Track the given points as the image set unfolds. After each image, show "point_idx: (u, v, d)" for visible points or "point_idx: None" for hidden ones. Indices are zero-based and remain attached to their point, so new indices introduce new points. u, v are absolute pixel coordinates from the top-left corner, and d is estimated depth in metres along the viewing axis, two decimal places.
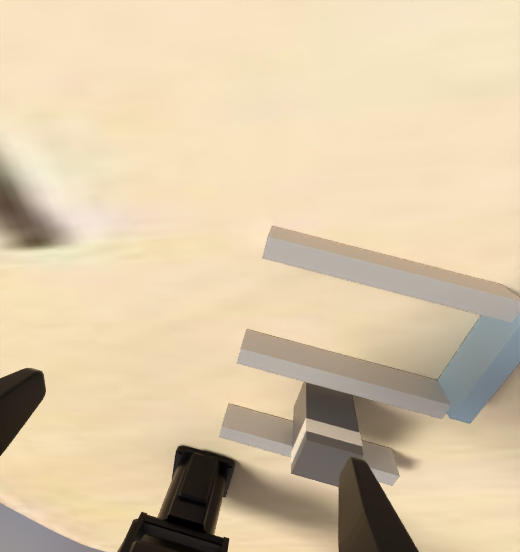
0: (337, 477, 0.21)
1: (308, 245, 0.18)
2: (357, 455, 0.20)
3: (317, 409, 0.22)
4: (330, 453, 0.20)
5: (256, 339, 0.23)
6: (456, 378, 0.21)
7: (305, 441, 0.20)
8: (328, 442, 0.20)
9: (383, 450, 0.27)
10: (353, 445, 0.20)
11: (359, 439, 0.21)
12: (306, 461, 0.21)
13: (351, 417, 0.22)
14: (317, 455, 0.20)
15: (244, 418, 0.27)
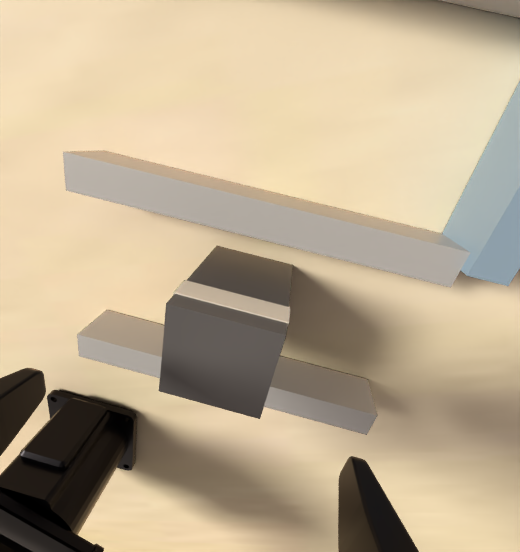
0: (244, 394, 0.11)
1: None
2: (274, 335, 0.09)
3: (217, 275, 0.12)
4: (220, 335, 0.10)
5: (110, 156, 0.13)
6: (479, 202, 0.11)
7: None
8: (215, 311, 0.10)
9: (353, 380, 0.17)
10: (269, 320, 0.10)
11: (285, 314, 0.10)
12: (179, 359, 0.10)
13: (280, 290, 0.12)
14: (196, 341, 0.10)
15: (124, 327, 0.16)
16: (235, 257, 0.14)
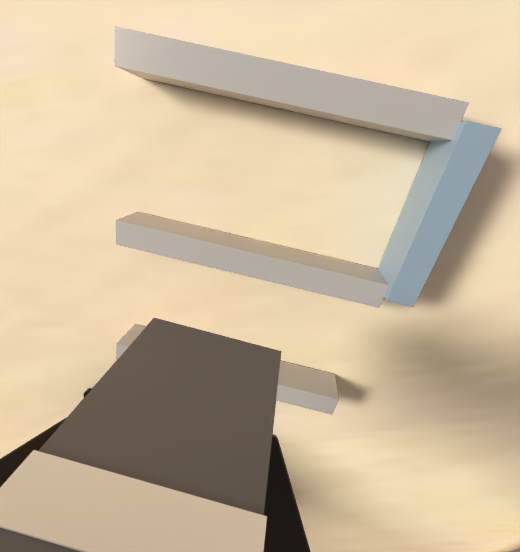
0: None
1: (171, 39, 0.13)
2: None
3: (123, 414, 0.06)
4: None
5: (145, 218, 0.18)
6: (395, 251, 0.17)
7: None
8: None
9: (323, 374, 0.22)
10: None
11: None
12: None
13: (251, 442, 0.06)
14: None
15: None
16: (179, 346, 0.08)
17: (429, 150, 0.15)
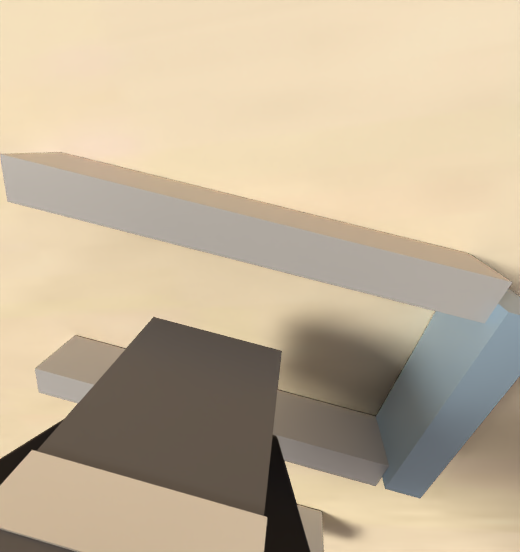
0: None
1: (82, 172, 0.09)
2: None
3: (122, 414, 0.06)
4: None
5: (80, 352, 0.14)
6: (398, 418, 0.13)
7: None
8: None
9: (308, 514, 0.18)
10: None
11: None
12: None
13: (251, 442, 0.06)
14: None
15: None
16: (179, 345, 0.08)
17: None
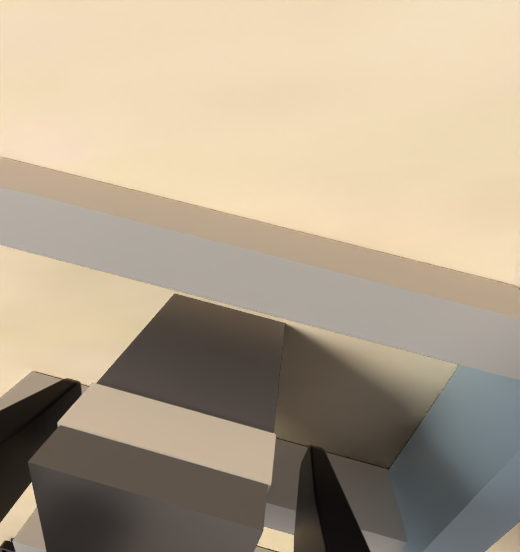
0: None
1: (3, 184, 0.07)
2: (239, 528, 0.05)
3: (158, 362, 0.07)
4: (137, 516, 0.05)
5: None
6: (418, 482, 0.10)
7: (30, 469, 0.05)
8: (128, 472, 0.05)
9: None
10: (233, 483, 0.05)
11: (266, 457, 0.06)
12: (73, 538, 0.06)
13: (262, 386, 0.07)
14: (96, 520, 0.05)
15: None
16: (198, 315, 0.09)
17: None
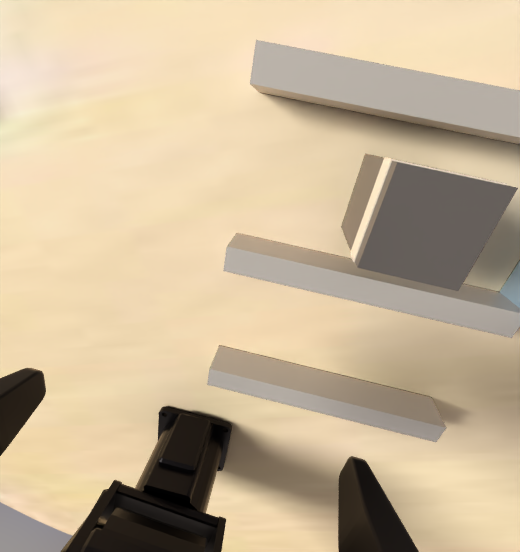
0: (450, 262, 0.11)
1: (318, 53, 0.12)
2: (504, 190, 0.10)
3: None
4: (445, 194, 0.10)
5: (249, 241, 0.17)
6: None
7: (394, 169, 0.10)
8: (441, 171, 0.10)
9: (421, 398, 0.21)
10: (489, 181, 0.10)
11: (495, 181, 0.11)
12: (391, 228, 0.11)
13: None
14: (416, 204, 0.10)
15: (239, 361, 0.21)
16: None
17: None
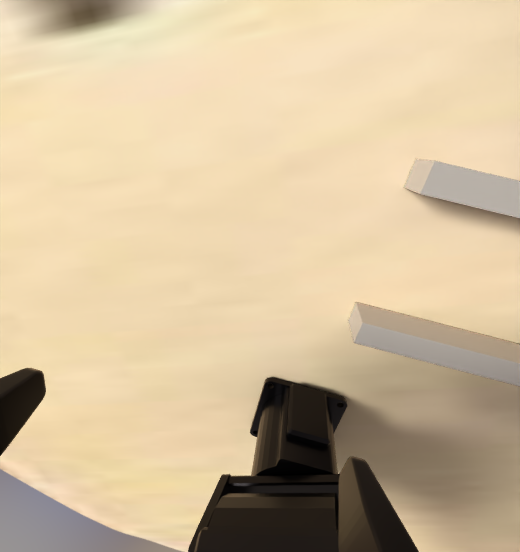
0: None
1: None
2: None
3: None
4: None
5: None
6: None
7: None
8: None
9: None
10: None
11: None
12: None
13: None
14: None
15: (387, 317, 0.18)
16: None
17: None
